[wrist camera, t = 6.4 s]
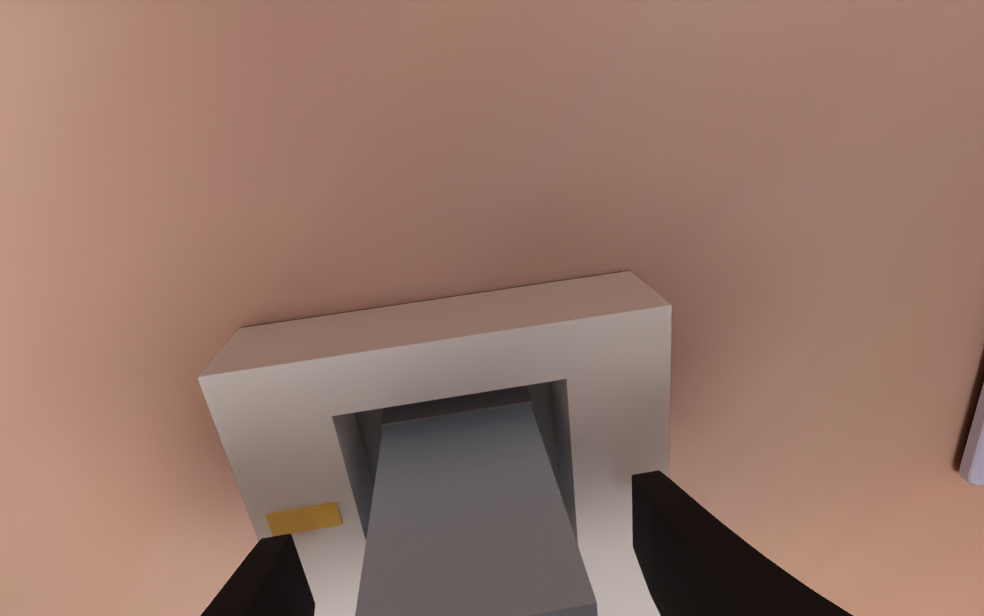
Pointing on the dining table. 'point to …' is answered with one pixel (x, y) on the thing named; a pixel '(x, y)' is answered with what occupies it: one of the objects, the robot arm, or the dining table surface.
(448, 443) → the plug
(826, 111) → the dining table surface
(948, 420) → the dining table surface
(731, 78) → the dining table surface
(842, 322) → the dining table surface
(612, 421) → the panel
